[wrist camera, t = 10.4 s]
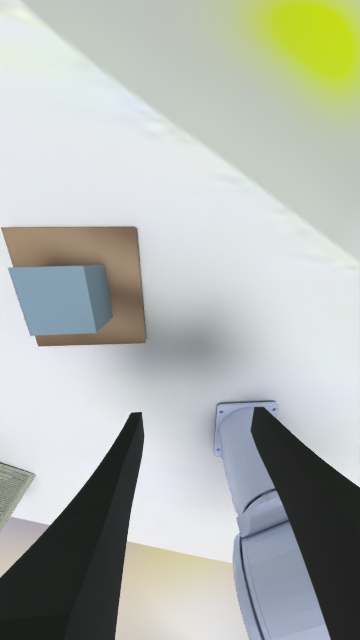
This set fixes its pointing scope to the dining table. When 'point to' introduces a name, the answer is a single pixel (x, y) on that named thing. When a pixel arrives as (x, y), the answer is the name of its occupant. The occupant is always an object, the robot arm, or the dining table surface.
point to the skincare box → (11, 490)
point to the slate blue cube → (63, 298)
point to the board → (89, 249)
